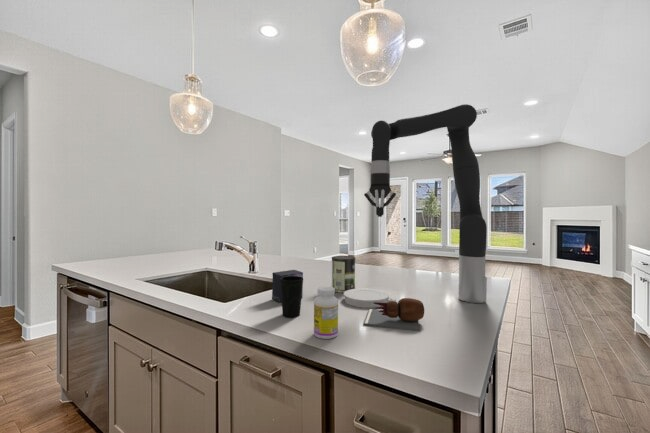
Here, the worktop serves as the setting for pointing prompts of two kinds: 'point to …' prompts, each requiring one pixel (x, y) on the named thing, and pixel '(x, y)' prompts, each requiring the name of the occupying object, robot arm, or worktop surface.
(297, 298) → the cup
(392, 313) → the wooden figurine
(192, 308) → the worktop surface
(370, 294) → the lid
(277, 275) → the small box
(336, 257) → the coffee can
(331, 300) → the supplement bottle
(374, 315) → the book
